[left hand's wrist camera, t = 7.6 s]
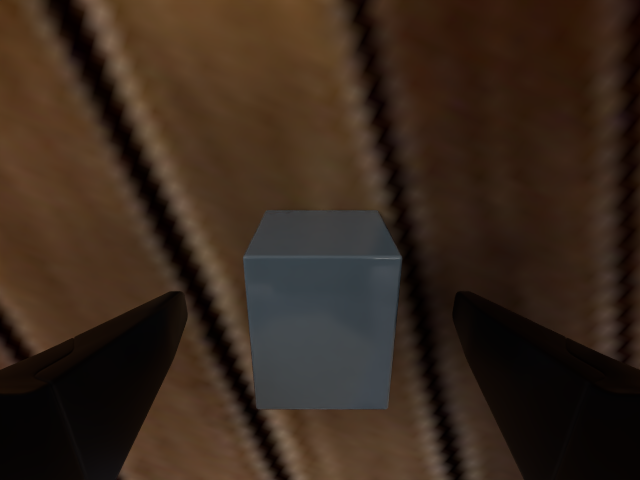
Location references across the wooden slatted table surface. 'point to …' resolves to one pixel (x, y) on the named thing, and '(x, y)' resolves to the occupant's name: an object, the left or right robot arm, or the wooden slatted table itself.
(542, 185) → the wooden slatted table surface
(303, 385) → the brick
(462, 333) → the left robot arm
